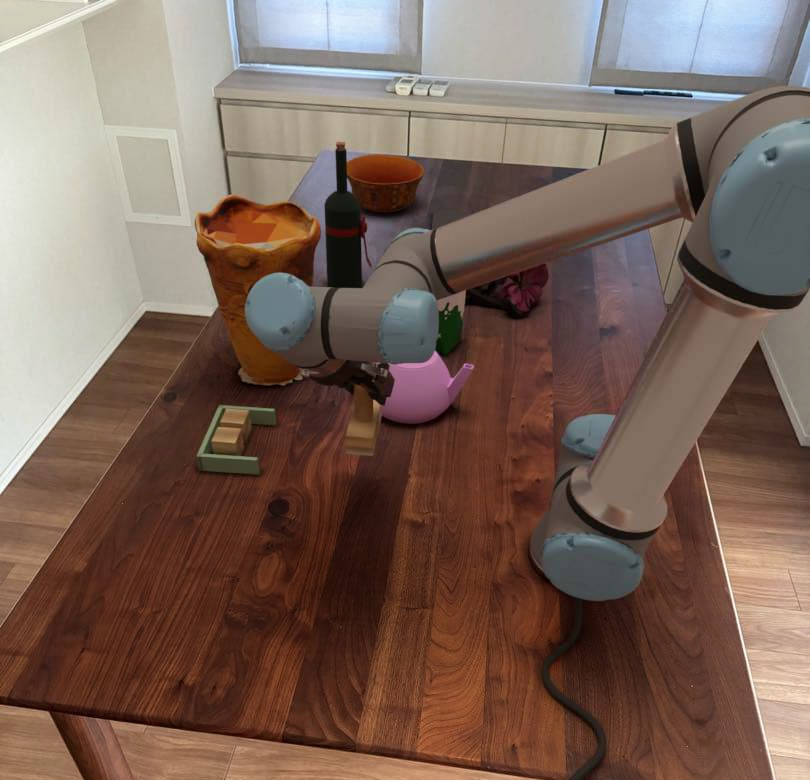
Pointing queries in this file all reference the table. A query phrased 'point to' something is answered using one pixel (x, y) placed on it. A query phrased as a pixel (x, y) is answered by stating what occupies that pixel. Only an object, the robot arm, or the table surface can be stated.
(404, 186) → the bowl
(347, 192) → the wine bottle
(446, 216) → the notebook
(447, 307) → the soya milk
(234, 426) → the cube
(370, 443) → the peg on base
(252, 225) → the vase
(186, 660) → the table surface
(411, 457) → the table surface
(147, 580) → the table surface
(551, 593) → the table surface
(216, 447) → the cube
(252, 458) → the frame
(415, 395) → the teapot
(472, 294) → the flower arrangement
